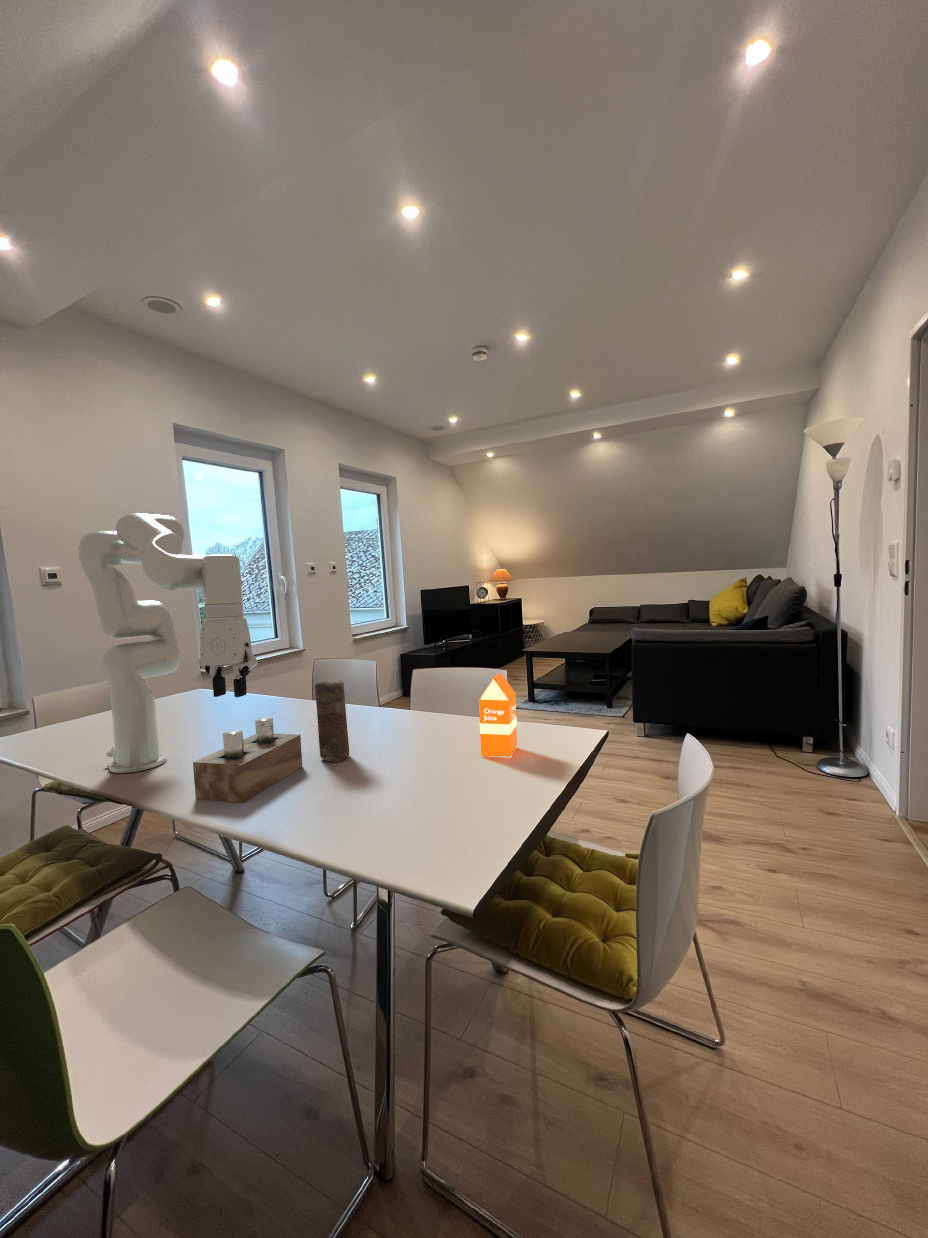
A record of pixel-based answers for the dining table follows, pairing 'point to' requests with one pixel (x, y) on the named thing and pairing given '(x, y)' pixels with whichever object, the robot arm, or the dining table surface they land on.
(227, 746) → the peg
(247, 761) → the walnut block
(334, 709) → the weathered brick
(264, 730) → the peg
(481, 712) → the orange juice
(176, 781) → the dining table surface
